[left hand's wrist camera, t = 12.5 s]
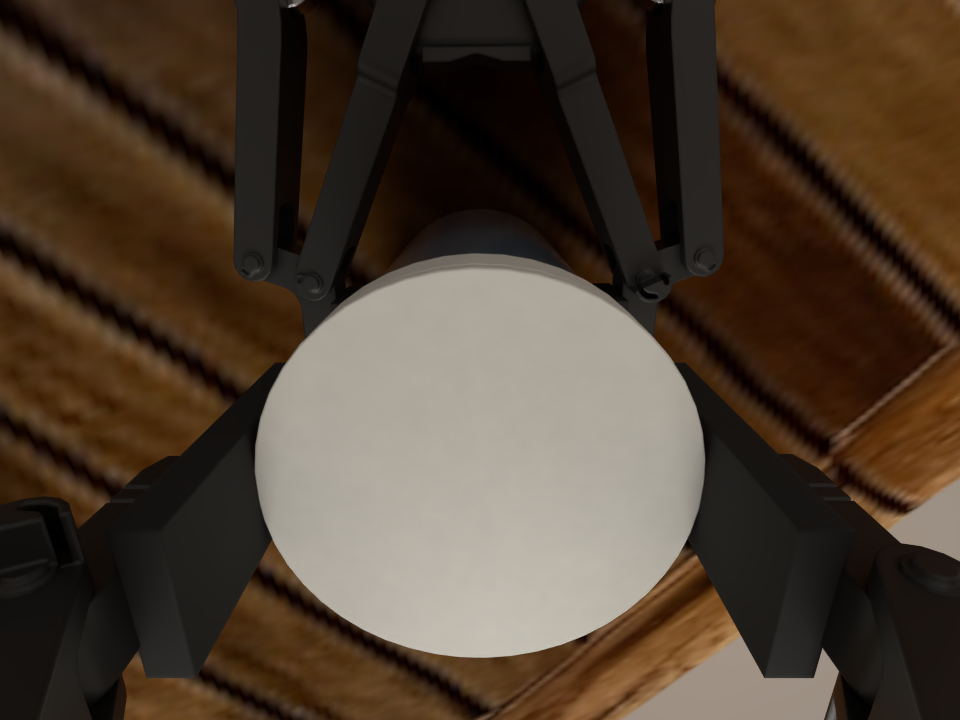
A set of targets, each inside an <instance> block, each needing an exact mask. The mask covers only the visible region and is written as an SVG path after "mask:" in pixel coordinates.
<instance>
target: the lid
mask: <svg viewBox="0 0 960 720" xmlns="http://www.w3.org/2000/svg"><path fill="white" fill-rule="evenodd" d="M704 474H705V450H704V440H703V431H702V427H701V423H700V420H699V416H698V412H697V408H696V405H695V403H694V400H693V398H692V396H691V393H690V391H689V389H688V387H687V384H686V382H685V380H684V378H683V377H682V375H681V374H680V372H679V370H678V369H677V367H676V366H675V364H674V363H673V361H672V359H671V358H670V356H669V355H668V354H667V353H666V352H665V351H664V349H663V348H662V347H661V346H660V345H659V344H658V342H657V341H656V340H655V339H654V338H653V337H652V335H651V334H650V333H649V332H648V331H647V330H646V329H645V328H644V327H643V326H642V325H641V324H640V323H639V322H638V321H637V320H636V319H635V318H634V317H633V316H632V315H631V314H630V313H629V312H628V311H627V310H625V309H624V308H623V307H622V306H621V305H620V304H618V303H617V302H616V301H615V300H614V299H613V298H612V297H610V296H609V295H608V294H606V293H605V292H603V291H602V290H600V289H599V288H597V287H595V286H594V285H592V284H591V283H589V282H588V281H586V280H584V279H582V278H580V277H578V276H576V275H574V274H571V273H569V272H567V271H565V270H563V269H561V268H558V267H555V266H552V265H548V264H545V263H542V262H539V261H536V260H532V259H527V258H521V257H515V256H509V255H503V254H477V253H472V254H461V255H451V256H442V257H438V258H434V259H430V260H425V261H421V262H417V263H413V264H411V265H408V266H406V267H403V268H400V269H398V270H395V271H392V272H390V273H387V274H386V275H384V276H382V277H380V278H378V279H376V280H375V281H373V282H371V283H369V284H367V285H365V286H364V287H362V288H361V289H359V290H358V291H357V292H355V293H354V294H353V295H351V296H350V297H349V298H347V299H346V300H345V301H343V302H342V303H341V304H340V305H339V306H338V307H337V308H336V309H335V310H334V311H333V312H332V313H331V314H330V315H329V316H328V317H327V318H326V319H325V320H324V321H323V322H322V323H321V324H320V325H319V326H318V327H317V328H316V329H315V330H314V331H313V332H312V333H311V334H310V335H309V336H308V337H307V338H306V339H305V340H304V341H303V342H302V343H301V344H300V345H299V346H298V348H297V349H296V350H295V352H294V353H293V354H292V356H291V357H290V358H289V360H288V361H287V362H286V364H285V365H284V366H283V368H282V370H281V371H280V373H279V375H278V377H277V379H276V381H275V383H274V385H273V386H272V388H271V390H270V392H269V395H268V397H267V400H266V403H265V406H264V409H263V412H262V414H261V417H260V422H259V427H258V433H257V438H256V444H255V476H256V483H257V489H258V495H259V501H260V506H261V510H262V513H263V517H264V520H265V523H266V525H267V527H268V529H269V532H270V534H271V536H272V539H273V541H274V543H275V545H276V546H277V548H278V550H279V551H280V553H281V555H282V556H283V558H284V559H285V561H286V563H287V564H288V566H289V567H290V568H291V569H292V571H293V572H294V573H295V574H296V576H297V577H298V578H299V579H300V580H301V582H302V583H303V584H304V585H305V586H306V587H307V588H308V589H309V590H310V591H311V592H312V593H313V594H314V595H315V596H316V597H317V598H318V599H319V600H320V601H322V602H323V603H324V604H325V605H327V606H328V607H329V608H331V609H332V610H333V611H335V612H336V613H337V614H339V615H340V616H341V617H343V618H345V619H346V620H348V621H350V622H351V623H353V624H355V625H356V626H358V627H360V628H361V629H363V630H365V631H368V632H370V633H372V634H374V635H376V636H378V637H381V638H383V639H385V640H388V641H391V642H394V643H397V644H400V645H402V646H405V647H408V648H412V649H416V650H421V651H425V652H430V653H434V654H441V655H449V656H457V657H484V658H486V657H500V656H512V655H518V654H524V653H530V652H536V651H540V650H543V649H547V648H550V647H554V646H558V645H561V644H564V643H566V642H569V641H571V640H574V639H576V638H579V637H582V636H584V635H586V634H588V633H590V632H592V631H594V630H596V629H598V628H600V627H602V626H603V625H605V624H607V623H609V622H610V621H612V620H613V619H615V618H616V617H618V616H619V615H621V614H622V613H624V612H625V611H627V610H628V609H629V608H630V607H632V606H633V605H634V604H635V603H636V602H638V601H639V600H640V599H641V598H642V597H643V596H645V595H646V594H647V593H648V592H649V591H650V590H651V589H652V588H653V586H654V585H655V584H656V583H657V582H658V581H659V580H660V579H661V578H662V577H663V576H664V574H665V573H666V572H667V570H668V569H669V567H670V566H671V565H672V563H673V562H674V560H675V559H676V558H677V556H678V555H679V553H680V551H681V549H682V547H683V545H684V544H685V542H686V540H687V538H688V536H689V534H690V532H691V529H692V527H693V524H694V521H695V518H696V516H697V513H698V510H699V506H700V501H701V495H702V490H703V484H704Z"/></svg>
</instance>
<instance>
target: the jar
mask: <svg viewBox="0 0 960 720" xmlns="http://www.w3.org/2000/svg"><path fill="white" fill-rule="evenodd" d="M472 253H477V254H503V255H509V256H515V257H521V258H527V259H532V260H536V261H539V262H542V263H545V264H548V265H552V266H555V267H558V268H561V269H563V270H565V271H567V272H569V273H571V274H574V275H576V276H578V275H577V274H576V273H575V272H574V271H573V270H572V268H571V267H570V266H569V265H568V264H567V263H566V262H565V260H564V259H563V258H562V257H561V256H560V255H559V253H558V252H557V251H556V250H555V249H554V248H553V246H552V245H551V244H550V243H549V242H548V241H547V239H546V238H545V237H544V236H543V235H542V234H541V233H540V232H539V231H538V230H536V229H535V228H534V227H533V226H531V225H530V224H528V223H527V222H525V221H524V220H522V219H520V218H518V217H515V216H513V215H511V214H507V213H504V212H501V211H496V210H490V209H471V210H463V211H459V212H455V213H451V214H449V215H446V216H444V217H441V218H440V219H438V220H436V221H434V222H432V223H431V224H429V225H428V226H427V227H425V228H424V229H423V230H422V231H420V232H419V233H418V234H417V235H416V236H415V237H414V238H413V240H412V241H411V242H410V243H409V244H408V245H407V247H406V248H405V249H404V250H403V251H402V252H401V254H400V255H399V256H398V257H397V258H396V259H395V261H394V262H393V263H392V264H391V265H390V266H389V268H388V269H387V270H386V271H385V272H384V273H383V275H382V276H384V275H386V274H387V273H390V272H392V271H395V270H398V269H400V268H403V267H406V266H408V265H411V264H413V263H417V262H421V261H425V260H430V259H434V258H438V257H442V256H451V255H461V254H472ZM382 276H381V277H382Z"/></svg>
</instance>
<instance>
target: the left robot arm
mask: <svg viewBox="0 0 960 720" xmlns="http://www.w3.org/2000/svg"><path fill="white" fill-rule="evenodd" d="M285 364H286V363H274V364H273V365H272V366H271V367H270V368H269V369H268V370H267V371H266V372H265V373H264V374H263V375H262V376H261V377H260V378H259V379H258V380H257V381H256V382H255V383H254V384H253V385H252V386H251V387H250V388H249V389H248V390H247V391H246V392H245V393H244V394H243V395H242V396H241V397H240V398H239V399H238V400H237V401H236V402H235V403H234V404H233V405H232V406H231V407H230V408H229V409H228V410H227V411H226V412H225V413H224V414H223V415H222V416H221V417H220V418H218V419H217V420H216V421H215V422H214V423H213V424H212V425H211V426H210V427H209V428H208V429H207V430H206V431H205V432H204V433H203V434H202V435H201V436H200V437H199V438H198V439H197V440H196V441H195V442H194V443H193V444H192V445H191V446H190V447H189V448H188V449H187V450H186V451H185V452H184V453H183V454H182V455H181V456H168V457H166V458H164V459H162V460H160V461H158V462H156V463H155V464H153V465H151V466H149V467H147V468H145V469H144V470H142V471H141V472H140V473H139V474H138V475H137V476H136V477H135V478H133V479H132V480H131V481H130V482H129V483H128V484H127V485H126V486H125V489H121V490H120V491H119V492H118V493H117V494H116V495H115V496H114V497H113V498H112V499H111V500H110V503H106V504H105V505H104V506H103V507H102V508H101V509H100V510H98V511H97V512H96V513H95V514H94V515H93V516H92V517H91V518H90V519H89V520H88V521H86V522H85V523H84V524H83V525H82V526H81V527H80V528H79V529H78V530H77V528H76V525H75V522H74V518H73V515H72V512H71V509H70V505H69V503H67V502H66V501H64V500H62V499H61V498H54V497H36V498H29V499H22V500H18V501H15V502H11V503H7V504H4V505H0V720H123V719H124V712H125V705H126V698H127V695H126V688H125V683H124V680H123V677H122V672H123V671H124V669H125V668H126V667H127V665H128V664H129V662H130V661H131V659H132V658H133V657H134V655H135V654H136V652H137V651H138V650H139V653H140V657H141V660H142V664H143V667H144V671H145V674H146V678H196V677H197V675H198V673H199V671H200V669H201V668H202V666H203V664H204V662H205V660H206V659H207V657H208V655H209V653H210V651H211V649H212V648H213V646H214V644H215V642H216V640H217V639H218V637H219V635H220V633H221V631H222V630H223V628H224V626H225V624H226V622H227V620H228V619H229V617H230V615H231V613H232V611H233V610H234V608H235V606H236V604H237V602H238V600H239V599H240V597H241V595H242V593H243V591H244V590H245V588H246V586H247V584H248V582H249V580H250V579H251V577H252V575H253V573H254V571H255V570H256V568H257V566H258V564H259V562H260V560H261V559H262V557H263V555H264V553H265V551H266V550H267V548H268V546H269V544H270V542H271V540H272V536H271V534H270V532H269V529H268V527H267V525H266V523H265V520H264V517H263V513H262V510H261V506H260V501H259V495H258V489H257V483H256V476H255V444H256V438H257V433H258V427H259V422H260V417H261V414H262V412H263V409H264V406H265V403H266V400H267V397H268V395H269V392H270V390H271V388H272V386H273V385H274V383H275V381H276V379H277V377H278V375H279V373H280V371H281V370H282V368H283V366H284V365H285ZM674 364H675V366H676V367H677V369H678V370H679V372H680V374H681V375H682V377H683V378H684V380H685V382H686V384H687V387H688V389H689V391H690V393H691V396H692V398H693V400H694V403H695V405H696V408H697V412H698V416H699V420H700V423H701V427H702V431H703V440H704V450H705V474H704V484H703V490H702V495H701V501H700V506H699V510H698V513H697V516H696V518H695V521H694V524H693V527H692V529H691V532H690V534H689V536H688V540H689V542H690V544H691V545H692V547H693V549H694V551H695V553H696V554H697V556H698V558H699V560H700V562H701V564H702V565H703V567H704V569H705V571H706V573H707V574H708V576H709V578H710V580H711V582H712V584H713V585H714V587H715V589H716V591H717V593H718V594H719V596H720V598H721V600H722V602H723V604H724V605H725V607H726V609H727V611H728V613H729V614H730V616H731V618H732V620H733V622H734V624H735V625H736V627H737V629H738V631H739V633H740V634H741V636H742V638H743V640H744V642H745V643H746V645H747V647H748V649H749V651H750V653H751V654H752V656H753V658H754V660H755V662H756V663H757V665H758V667H759V669H760V671H761V673H762V674H763V676H764V678H814V675H815V672H816V668H817V665H818V661H819V658H820V655H821V651H822V648H823V649H824V650H825V652H826V653H827V655H828V656H829V657H830V659H831V660H832V662H833V663H834V665H835V666H836V667H837V669H838V670H839V673H838V677H837V680H836V683H835V686H834V690H833V693H832V696H831V699H830V702H829V706H828V709H827V712H826V715H825V719H824V720H960V561H958V560H956V559H954V558H952V557H950V556H948V555H946V554H944V553H940V552H937V551H934V550H931V549H928V548H925V547H922V546H916V545H909V544H902V543H900V542H899V541H898V540H897V539H896V538H894V537H893V536H892V535H891V534H890V533H889V532H888V531H887V530H886V529H885V528H883V527H882V526H881V525H880V524H879V523H878V522H877V521H876V520H875V519H874V518H872V517H871V516H870V515H869V514H868V513H867V512H866V511H865V510H864V509H862V508H861V507H860V506H859V505H858V504H857V503H856V502H855V501H851V499H850V497H849V496H848V495H847V494H846V493H845V492H844V491H843V490H842V489H840V488H839V487H836V484H835V483H834V482H833V481H832V480H831V479H829V478H828V477H827V476H826V475H825V474H824V473H823V472H822V471H821V470H820V469H818V468H817V467H815V466H813V465H811V464H810V463H808V462H806V461H804V460H802V459H800V458H798V457H797V456H795V455H793V454H777V453H776V452H775V451H774V450H773V449H772V448H771V447H770V446H769V445H768V444H767V443H766V442H765V441H764V440H763V439H762V438H761V437H760V436H759V435H758V434H757V433H756V432H755V431H754V430H753V429H752V428H751V427H750V426H749V425H748V424H747V423H746V422H745V421H744V420H743V419H742V418H741V417H740V416H739V415H738V414H737V413H736V412H735V411H734V410H733V409H732V408H731V407H730V406H729V405H728V404H727V403H726V402H725V401H723V400H722V399H721V398H720V397H719V396H718V395H717V394H716V393H715V392H714V391H713V390H712V389H711V388H710V387H709V386H708V385H707V384H706V383H705V382H704V381H703V380H702V379H701V378H700V377H699V376H698V375H697V374H696V373H695V372H694V371H693V370H692V369H691V368H690V367H689V366H688V365H687V364H686V363H674Z"/></svg>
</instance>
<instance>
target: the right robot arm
mask: <svg viewBox="0 0 960 720" xmlns="http://www.w3.org/2000/svg"><path fill="white" fill-rule="evenodd" d="M363 1H364V2H365V4H366V5H367V6H368V8H369V9H370V11H371V12H372V14H373V15H372V18H371V21H370V24H369V27H368V30H367V34H366V37H365V40H364V43H363V46H362V49H361V53H360V56H359V60H358V65H357V79H356V83H355V86H354V89H353V92H352V96H351V99H350V102H349V105H348V108H347V111H346V114H345V117H344V121H343V124H342V127H341V130H340V133H339V136H338V139H337V142H336V146H335V149H334V152H333V155H332V158H331V161H330V164H329V167H328V171H327V174H326V177H325V180H324V183H323V186H322V189H321V192H320V196H319V199H318V202H317V205H316V208H315V211H314V214H313V217H312V221H311V224H310V227H309V230H308V233H307V236H306V239H305V242H304V245H300V244H297V228H298V210H299V192H300V174H301V156H302V139H303V121H304V103H305V85H306V67H307V33H306V23H305V18H304V14H306V13H308V12H310V11H312V10H313V9H314V8H315V6H316V5H317V3H318V0H235V4H236V7H237V11H238V26H237V86H236V147H235V207H234V265H235V268H236V270H237V271H238V273H239V274H240V275H241V276H242V277H243V278H245V279H247V280H250V281H261V280H264V281H267V282H270V283H273V284H276V285H279V286H282V287H285V288H287V289H289V290H290V291H291V292H293V293H294V294H295V296H296V297H297V298H298V300H299V302H300V304H301V308H302V316H303V324H304V332H305V339H306V338H307V337H308V336H309V335H310V334H311V333H312V332H313V331H314V330H315V329H316V328H317V327H318V326H319V325H320V324H321V323H322V322H323V321H324V320H325V319H326V318H327V317H328V316H329V315H330V314H331V313H332V312H333V311H334V310H335V309H336V308H337V307H338V306H339V305H340V304H341V303H342V302H343V301H345V300H346V299H347V298H349V297H350V296H351V295H353V294H354V293H355V292H357V291H358V290H359V289H361V288H362V287H364V286H349V287H348V288H347V289H346V284H345V279H346V278H347V277H348V276H349V275H350V273H351V271H349V268H350V265H351V263H352V260H353V257H354V254H355V251H356V248H357V246H358V243H359V240H360V237H361V234H362V231H363V229H364V226H365V223H366V220H367V217H368V215H369V212H370V209H371V206H372V203H373V200H374V198H375V195H376V192H377V189H378V186H379V183H380V181H381V178H382V175H383V172H384V169H385V167H386V164H387V161H388V158H389V155H390V152H391V150H392V147H393V144H394V141H395V138H396V136H397V133H398V130H399V127H400V124H401V121H402V119H403V116H404V113H405V110H406V108H407V105H408V103H409V102H410V100H411V98H412V96H413V94H414V91H415V89H416V86H417V83H418V80H419V77H420V75H421V72H422V69H423V68H424V69H427V71H428V73H453V72H456V71H459V70H463V69H466V68H469V67H472V66H476V65H478V66H482V67H486V68H489V69H492V70H496V71H499V72H526V70H527V68H529V67H531V68H532V70H533V73H534V76H535V78H536V81H537V84H538V86H539V89H540V91H541V93H542V96H543V98H544V99H545V101H546V102H547V104H548V107H549V109H550V112H551V114H552V117H553V120H554V122H555V125H556V127H557V130H558V133H559V135H560V138H561V141H562V143H563V146H564V149H565V151H566V154H567V156H568V159H569V162H570V164H571V167H572V170H573V172H574V175H575V178H576V180H577V183H578V186H579V188H580V191H581V193H582V196H583V199H584V201H585V204H586V207H587V209H588V212H589V215H590V217H591V220H592V222H593V225H594V228H595V230H596V233H597V236H598V238H599V241H600V244H601V246H602V249H603V251H604V254H605V257H606V259H607V262H608V265H609V267H610V270H611V273H612V274H613V284H612V285H611V284H610V283H594V284H592V285H594V286H595V287H597V288H599V289H600V290H602V291H603V292H605V293H606V294H608V295H609V296H610V297H612V298H613V299H614V300H615V301H616V302H617V303H618V304H620V305H621V306H622V307H623V308H624V309H625V310H627V311H628V312H629V313H630V314H631V315H632V316H633V317H634V318H635V319H636V320H637V321H638V322H639V323H640V324H641V325H642V326H643V327H644V328H645V329H646V330H647V331H648V332H649V333H650V334H651V335H652V337H653V338H654V328H655V319H656V309H657V302H659V301H661V300H662V299H664V298H666V297H667V295H668V294H669V293H670V291H671V289H672V285H673V283H675V282H678V281H681V280H684V279H686V278H689V277H692V276H695V275H696V276H698V277H706V276H708V275H711V274H713V273H714V272H716V271H717V270H718V269H719V267H720V266H721V264H722V262H723V257H724V245H723V219H722V193H721V167H720V141H719V115H718V89H717V63H716V37H715V11H714V6H715V2H716V0H635V1H636V2H637V4H638V5H639V6H640V7H641V8H643V9H646V10H649V12H648V18H647V29H646V55H647V67H648V80H649V93H650V106H651V119H652V132H653V145H654V157H655V170H656V183H657V196H658V209H659V222H660V235H661V240H658V241H655V242H654V240H653V237H652V234H651V232H650V229H649V226H648V223H647V220H646V217H645V214H644V211H643V208H642V206H641V203H640V200H639V197H638V194H637V191H636V188H635V185H634V182H633V179H632V177H631V174H630V171H629V168H628V165H627V162H626V159H625V156H624V153H623V150H622V148H621V145H620V142H619V139H618V136H617V133H616V130H615V127H614V124H613V121H612V119H611V116H610V113H609V110H608V107H607V104H606V101H605V98H604V95H603V92H602V90H601V87H600V84H599V81H598V77H597V72H596V61H595V57H594V53H593V50H592V47H591V44H590V41H589V38H588V35H587V32H586V29H585V27H584V24H583V21H582V18H581V15H580V10H581V9H582V7H583V6H584V4H585V3H586V1H587V0H363Z"/></svg>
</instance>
